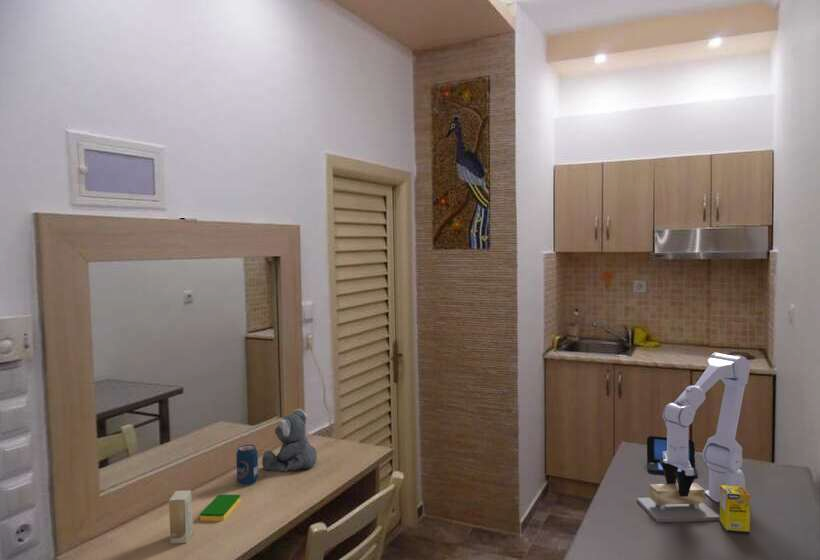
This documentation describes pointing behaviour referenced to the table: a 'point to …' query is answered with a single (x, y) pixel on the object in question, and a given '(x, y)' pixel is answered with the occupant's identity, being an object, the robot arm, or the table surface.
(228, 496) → the dish sponge
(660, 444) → the handheld game console
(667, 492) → the shelf board
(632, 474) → the table surface
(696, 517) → the peg stand
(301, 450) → the koala plush
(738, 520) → the supplement box
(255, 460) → the soda can
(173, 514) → the skincare box
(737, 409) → the robot arm
